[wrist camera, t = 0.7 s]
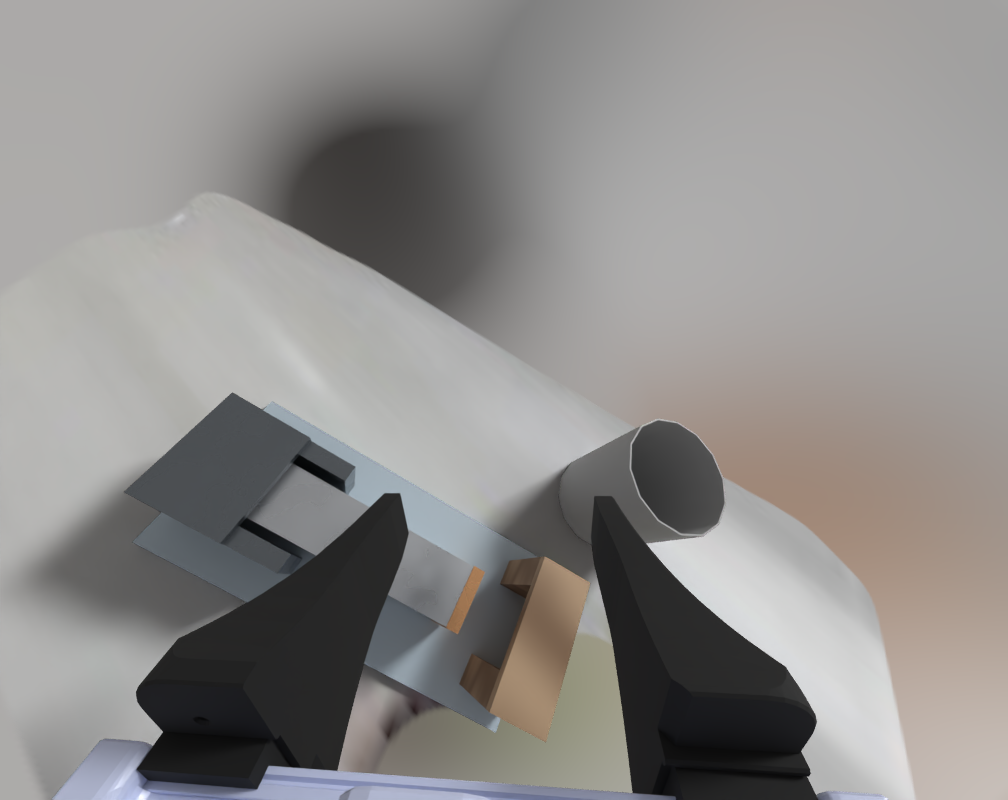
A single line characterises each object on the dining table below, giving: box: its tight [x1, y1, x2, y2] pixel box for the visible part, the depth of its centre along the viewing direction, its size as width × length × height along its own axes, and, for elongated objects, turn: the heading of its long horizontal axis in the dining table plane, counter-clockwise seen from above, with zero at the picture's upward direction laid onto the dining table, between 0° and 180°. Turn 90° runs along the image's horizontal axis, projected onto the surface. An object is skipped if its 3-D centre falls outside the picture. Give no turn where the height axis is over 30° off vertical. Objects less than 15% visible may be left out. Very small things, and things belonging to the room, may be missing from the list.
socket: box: [459, 556, 590, 742], centre depth 24 cm, size 8×4×6 cm, turn 154°
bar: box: [246, 463, 485, 634], centre depth 23 cm, size 4×17×5 cm, turn 64°
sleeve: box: [125, 393, 356, 574], centre depth 22 cm, size 6×8×6 cm
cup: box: [559, 419, 726, 545], centre depth 30 cm, size 8×8×10 cm
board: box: [132, 401, 537, 732], centre depth 26 cm, size 11×25×1 cm, turn 64°
